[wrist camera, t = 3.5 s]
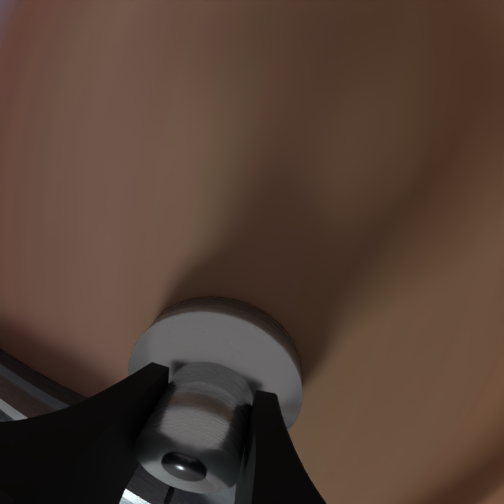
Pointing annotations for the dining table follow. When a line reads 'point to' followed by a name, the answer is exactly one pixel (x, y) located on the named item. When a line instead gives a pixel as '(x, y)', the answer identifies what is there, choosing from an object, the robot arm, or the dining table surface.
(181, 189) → the dining table surface
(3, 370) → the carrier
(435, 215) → the dining table surface
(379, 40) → the dining table surface
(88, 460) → the robot arm
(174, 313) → the planet gear
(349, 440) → the dining table surface
